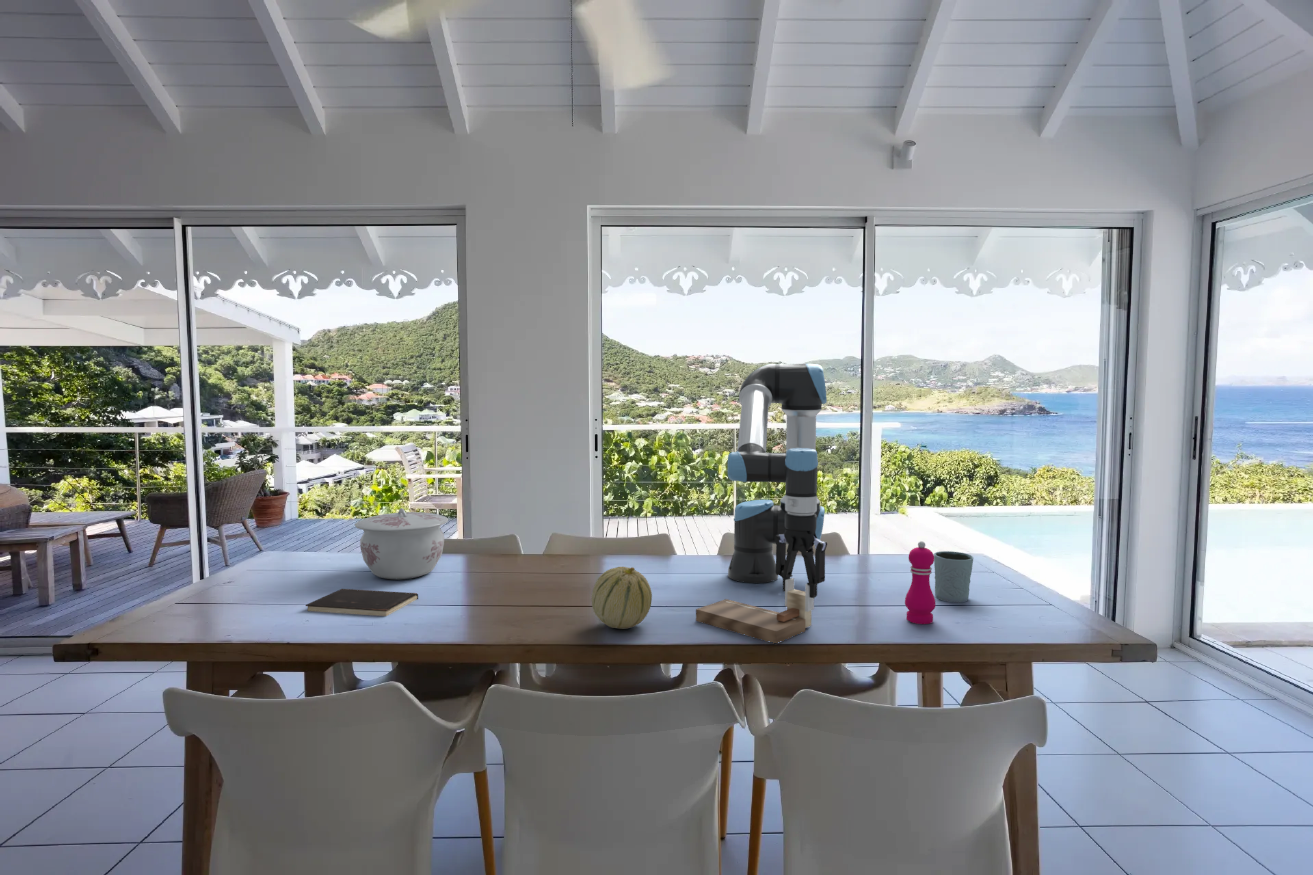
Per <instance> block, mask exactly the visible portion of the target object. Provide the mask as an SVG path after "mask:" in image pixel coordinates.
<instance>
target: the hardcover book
mask: <svg viewBox="0 0 1313 875" xmlns="http://www.w3.org/2000/svg"><path fill="white" fill-rule="evenodd" d="M416 600H419V594H418V593H417V592H402V591H388V590H387V591H384V590H371V589H370V590H369V589H353V588H341V589H339V590H336V591H334V592H332V593H328V594H327V595H325V596H324V595H323V597H320V598H318V599H316V600H313V601H311V602H309V603H307V604H305V607H307V611H308V612H321V613H332V614H334V613H335V614H347V615H362V616H363V615H365V616H377V617H379V616H380V617H387V616H389V615H391V614H393V613H395V612H397V611H399V610H400V609H402V608H404V607H405V606H407V605H409V604H411V603H413V602H414V601H416Z"/></svg>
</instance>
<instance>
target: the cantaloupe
mask: <svg viewBox="0 0 1313 875" xmlns="http://www.w3.org/2000/svg"><path fill="white" fill-rule="evenodd" d="M652 598H653V593H652V588H651V586H650V583H649V582H648V580H647V578H646V577H645V576H644V575H643V574H642V573H641V572H639V571H637V570H635V567H633V566H632V567H627V566H617V567H613V568H609V569H607V570H606V571H604V572H603V573H602V574H601V575H599V577H598V578H597V579H596V582H595V583H594V586H593V588H592V593H591V607H592V610H593V612H594V614H595V616H596V617H597V618H598V619H599V621H600V622H602V623H603V624H605V625H606V626H608V627H609V628H613V629H619V630H627V629H630V628H634V627H636V626H637V625H639V624H641V623H642V622H643V621H644V620H645V619H646V617H647V615H648V614H649V612H650V610H651V607H652V602H653V601H652V600H653V599H652Z"/></svg>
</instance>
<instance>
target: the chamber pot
mask: <svg viewBox="0 0 1313 875" xmlns="http://www.w3.org/2000/svg"><path fill="white" fill-rule="evenodd" d="M448 522H449V518H448V517H447V516H445V515H443V514H442V515H441V514H437V513H434V512H433V513H432V512H421V511H419V512H418V511H416V512H415V511H409V512H408V511H406V510H405V509H404V508H399V509H398V512H391V513H383V514H379V515H373V516H369V517H367V518H366V517H365V518H363V519H361V520H357V521H356V523H354V527H355V528H357V529H359V530H362V531H363V534H362V536H361V537H360V539H359V545H360V546H359V547H360V552H361V556H362V558H363V559H362V560H363V561H364V563H365V564H366V566H367V567H368V569H369V570H370V572H371V573H372V574H373V575H374V576H376V577H378V578H382V579H385V580H391V581H392V580H393V581H394V580H395V581H400V580H403V581H405V580H411V579H415V578H419V577H423V576H425V575H427V574H429V573H431V572H433V570H434V569H435V568H436V565H438V562H439V560H440V559H441V557H442V555H443V550H444V545H445V533H444V531H442V530H443V529H441V526H442V525H445V524H447V523H448Z"/></svg>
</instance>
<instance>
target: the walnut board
mask: <svg viewBox="0 0 1313 875" xmlns="http://www.w3.org/2000/svg"><path fill="white" fill-rule="evenodd" d="M778 613H780V612H778V611H775V610H771V609H767V608H762V607H760V606H755V605H751V604H746V603H743V602H739V601H735V600H730V599H727V598H724V599H722V600H719V601H716V602H714V603H710V604H707V605H704V606H701V607H699V608H695V621H696V622H699V623H701V624H702V623H703V624H706V625H707V626H712V627H715V628H720V629H723V630H726V631H730V632H733V633H736V632H737V633H736V634H739V633H740V635H743V634H745V635H744V636H746V635H747V637H750V636H751V637H750V638H753V637H754V638H753V639H756V638H757V640H760V639H762V640H761V641H763V640H765V641H764V642H767V641H770V642H773V643H772V644H774V643H778V642H780V641H783V642H785V641H786V640H785V639H787V640H789V639H791V637H792V636H794V637H796V636H798V635H797V634H799V635H800V633H801V632H803V633H805V632H806V628H805V619H803V618H799V617H795V618H792V619H790V620H787V621H785V622H782V621H779V620H777V614H778ZM801 634H802V633H801ZM795 635H796V636H795ZM792 638H793V637H792ZM784 640H785V641H784ZM770 642H769V643H770ZM780 643H781V642H780ZM778 644H779V643H778Z"/></svg>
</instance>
